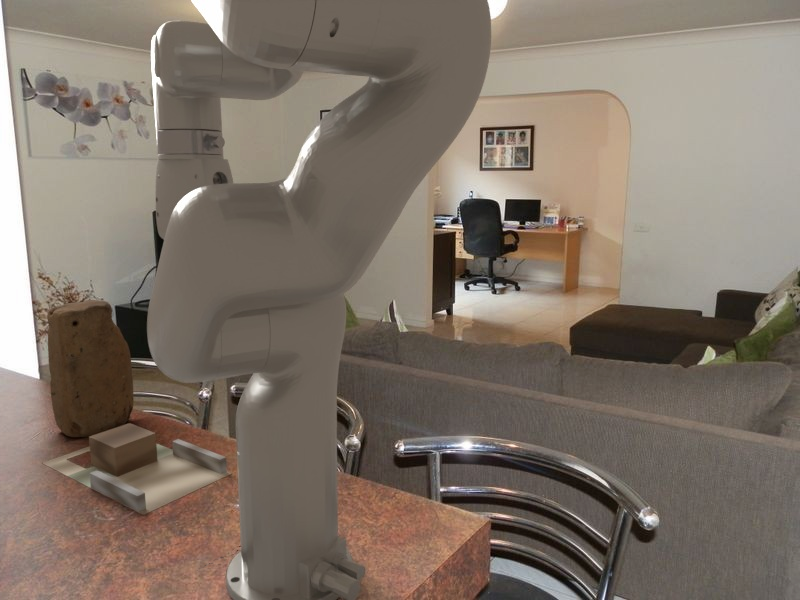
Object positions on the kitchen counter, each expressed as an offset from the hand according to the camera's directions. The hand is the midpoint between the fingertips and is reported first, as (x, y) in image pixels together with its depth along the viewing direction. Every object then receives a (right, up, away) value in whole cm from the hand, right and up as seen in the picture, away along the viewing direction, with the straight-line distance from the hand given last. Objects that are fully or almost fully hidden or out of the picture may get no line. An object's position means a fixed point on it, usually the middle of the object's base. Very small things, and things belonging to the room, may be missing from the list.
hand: (199, 298), depth 83 cm
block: (-23, -20, +22) cm, 37 cm away
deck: (-10, -23, +6) cm, 26 cm away
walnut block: (-12, -22, +7) cm, 26 cm away
